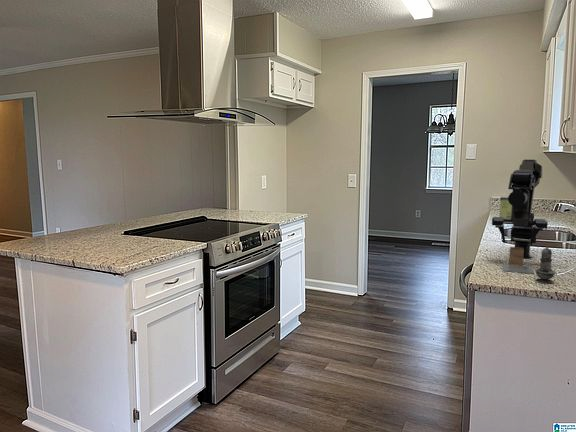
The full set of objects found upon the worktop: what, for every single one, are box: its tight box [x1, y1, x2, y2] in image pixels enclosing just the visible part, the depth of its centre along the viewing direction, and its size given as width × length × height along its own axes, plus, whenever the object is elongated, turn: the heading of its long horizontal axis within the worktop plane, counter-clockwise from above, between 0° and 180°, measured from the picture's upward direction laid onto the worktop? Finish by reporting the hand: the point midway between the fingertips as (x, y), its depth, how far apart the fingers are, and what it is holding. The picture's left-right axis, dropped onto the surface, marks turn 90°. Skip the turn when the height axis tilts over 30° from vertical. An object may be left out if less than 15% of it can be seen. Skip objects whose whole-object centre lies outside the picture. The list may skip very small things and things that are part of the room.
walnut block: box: [508, 246, 524, 266], centre depth 172 cm, size 4×4×6 cm
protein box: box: [498, 196, 512, 220], centre depth 292 cm, size 10×16×16 cm
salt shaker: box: [534, 245, 556, 285], centre depth 146 cm, size 6×6×12 cm
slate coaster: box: [501, 264, 536, 275], centre depth 163 cm, size 10×10×1 cm
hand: (517, 244), depth 172 cm, fingers open, 9 cm apart
